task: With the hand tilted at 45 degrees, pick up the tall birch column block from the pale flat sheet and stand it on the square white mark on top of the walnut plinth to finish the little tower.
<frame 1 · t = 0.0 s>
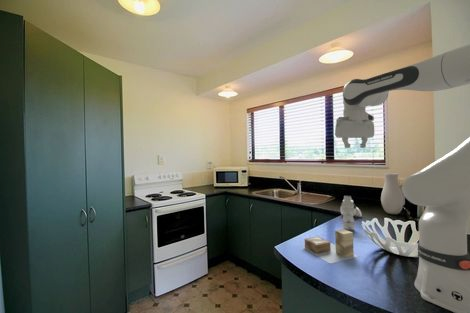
hand: (355, 147, 98), 48 cm above the worktop, tool pointing down, fingers open, 8 cm apart
vase: (392, 213, 161), on the worktop
plastic bottle: (348, 230, 129), on the worktop
birch column: (344, 254, 95), point 1 cm above the worktop, touching pale flat sheet
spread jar: (351, 216, 157), on the worktop
pale flat sheet: (328, 253, 98), on the worktop
walnut plinth: (317, 251, 101), resting on pale flat sheet
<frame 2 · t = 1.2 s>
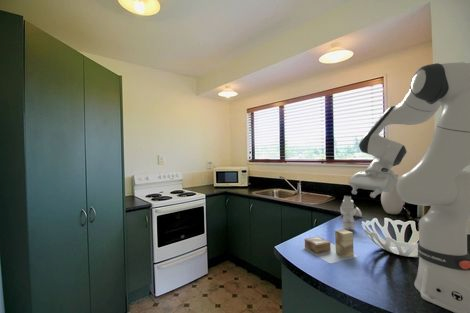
hand: (362, 195, 101), 26 cm above the worktop, tool tilted 45°, fingers open, 8 cm apart
nothing on the worktop moved.
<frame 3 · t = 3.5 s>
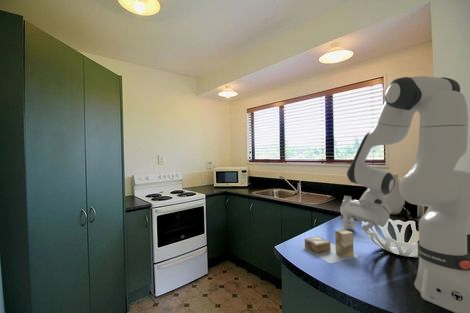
hand: (355, 226, 98), 12 cm above the worktop, tool tilted 45°, fingers open, 8 cm apart
nothing on the worktop moved.
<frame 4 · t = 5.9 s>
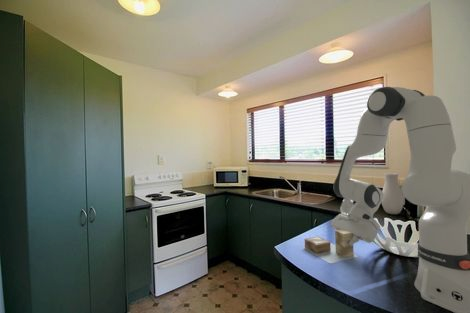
hand: (343, 242, 95), 6 cm above the worktop, tool tilted 45°, fingers closed on birch column, 5 cm apart
birch column: (344, 254, 95), point 1 cm above the worktop, touching pale flat sheet, gripper
everything else where it was.
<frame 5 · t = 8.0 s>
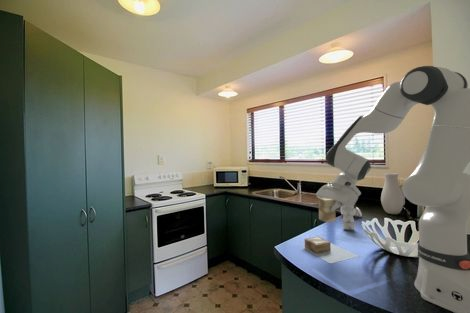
hand: (325, 208, 99), 20 cm above the worktop, tool tilted 45°, fingers closed on birch column, 5 cm apart
birch column: (327, 220, 100), point 15 cm above the worktop, touching gripper
everything else where it was.
when the fingers open (12 cm above the worktop, at t = 10.1 s): birch column drops 1 cm, resting on walnut plinth.
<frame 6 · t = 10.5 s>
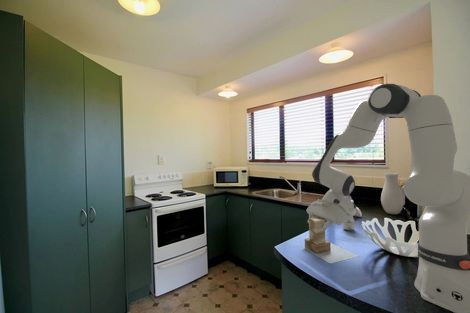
hand: (315, 225, 101), 12 cm above the worktop, tool tilted 45°, fingers open, 8 cm apart
birch column: (317, 240, 101), point 5 cm above the worktop, touching walnut plinth
everything else where it was.
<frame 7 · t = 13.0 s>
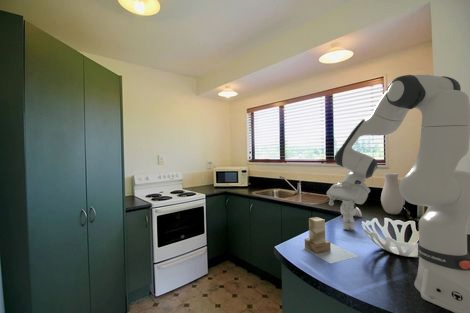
hand: (337, 206, 105), 20 cm above the worktop, tool tilted 45°, fingers open, 8 cm apart
nothing on the worktop moved.
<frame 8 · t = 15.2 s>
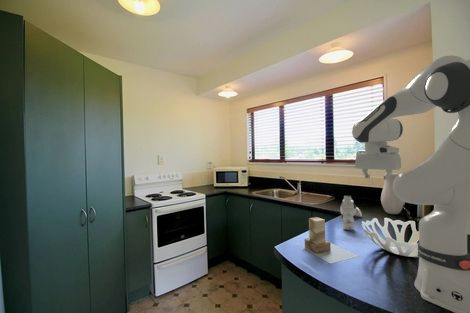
hand: (376, 179, 101), 33 cm above the worktop, tool pointing down, fingers open, 8 cm apart
nothing on the worktop moved.
at the end: birch column 0.1 cm off-centre on the walnut plinth, point 5.1 cm above the walnut plinth's base; birch column tilted 0°; the gripper is holding nothing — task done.
